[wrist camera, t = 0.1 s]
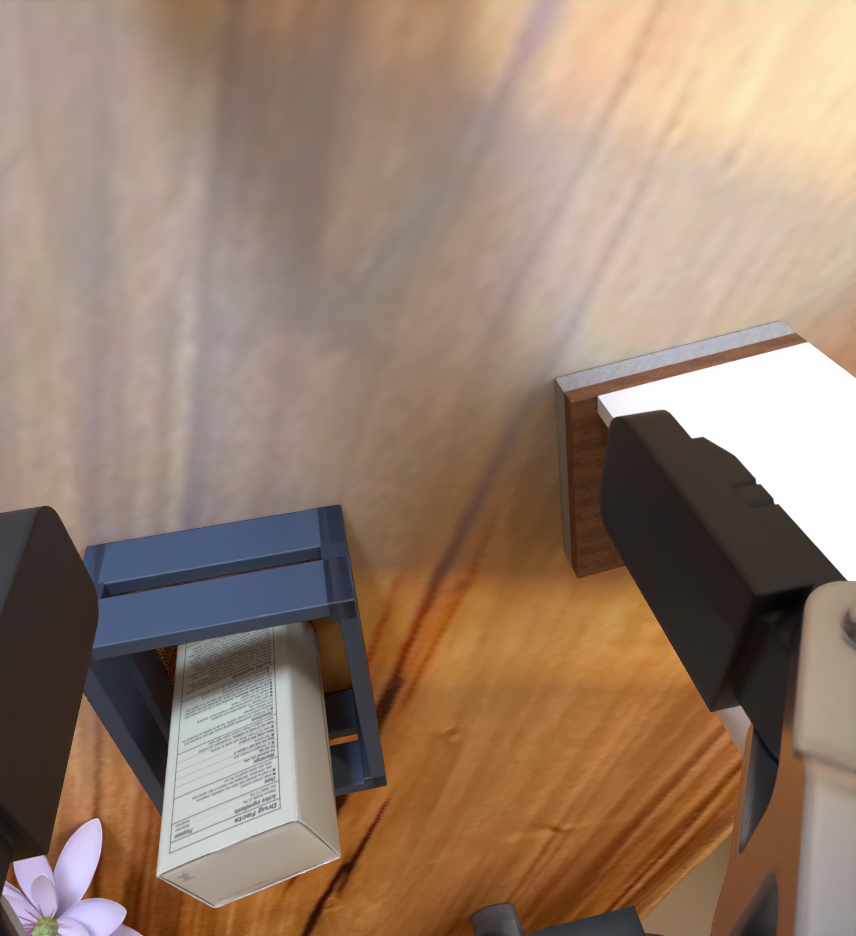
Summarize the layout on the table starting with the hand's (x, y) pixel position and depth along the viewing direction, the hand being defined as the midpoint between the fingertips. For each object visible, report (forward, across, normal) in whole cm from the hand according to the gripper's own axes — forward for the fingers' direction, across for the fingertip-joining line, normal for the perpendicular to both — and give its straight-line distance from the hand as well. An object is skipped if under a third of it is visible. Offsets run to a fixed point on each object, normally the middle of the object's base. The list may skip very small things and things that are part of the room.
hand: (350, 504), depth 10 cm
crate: (+17, +6, +23) cm, 29 cm away
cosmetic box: (+17, +6, +23) cm, 29 cm away
